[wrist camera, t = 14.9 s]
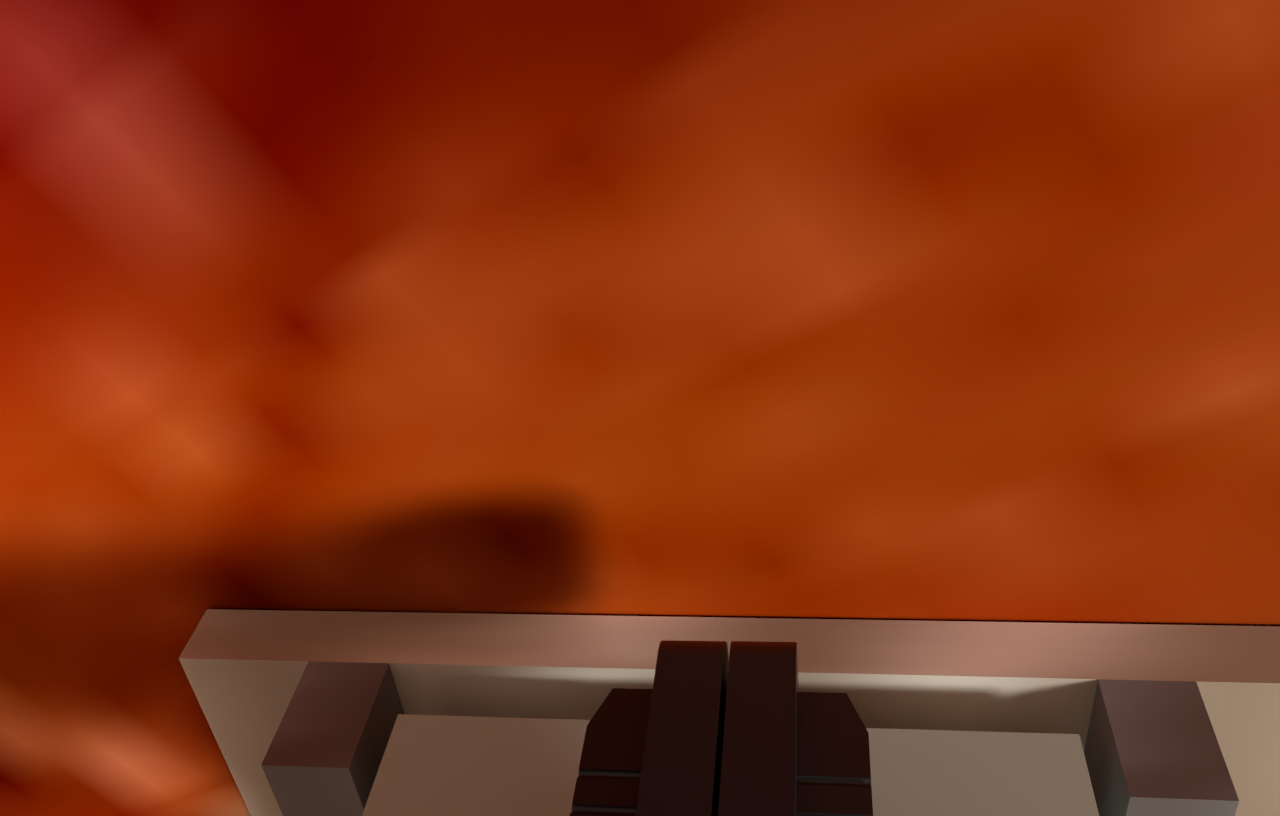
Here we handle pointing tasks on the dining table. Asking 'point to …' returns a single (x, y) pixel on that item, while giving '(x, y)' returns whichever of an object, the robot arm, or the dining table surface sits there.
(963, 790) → the sage green tray
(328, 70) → the dining table surface
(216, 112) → the dining table surface
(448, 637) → the track
